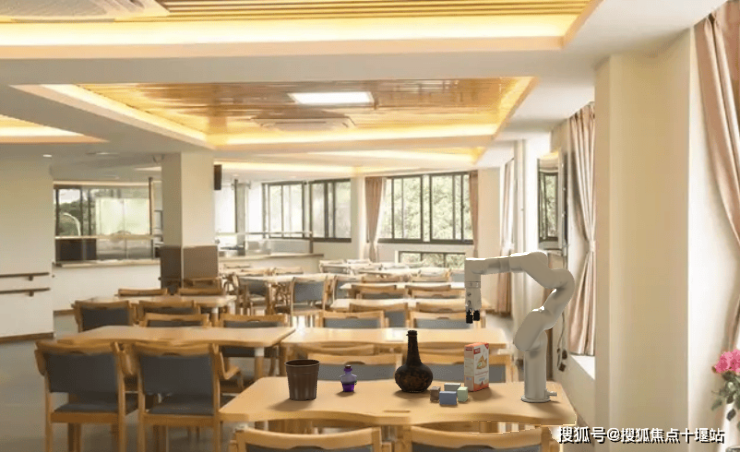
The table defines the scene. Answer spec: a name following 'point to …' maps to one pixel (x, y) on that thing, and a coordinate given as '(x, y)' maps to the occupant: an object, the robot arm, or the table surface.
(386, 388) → the table surface
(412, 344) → the glass bottle
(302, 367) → the plant pot
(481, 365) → the cracker box
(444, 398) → the blue block
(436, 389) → the walnut brick
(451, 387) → the slate brick
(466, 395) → the sage brick
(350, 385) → the potion bottle
